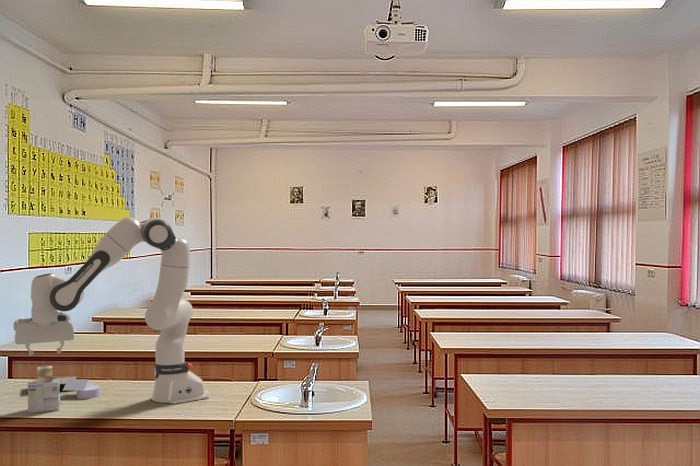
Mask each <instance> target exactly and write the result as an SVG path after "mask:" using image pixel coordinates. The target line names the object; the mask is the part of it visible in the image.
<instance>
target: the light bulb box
mask: <svg viewBox="0 0 700 466" xmlns="http://www.w3.org/2000/svg"><path fill="white" fill-rule="evenodd" d="M57 378H58V379H53V378H52V382H43V383H38V379H36V380H37V381H33V380H29V381H28V382H29V383H27V389H28V393H27V414H32V413H34V414H35V413H43V412H53V411H59V410H60V407H61V392H60V382H59V378H60V377H57Z"/></svg>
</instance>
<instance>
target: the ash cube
mask: <svg viewBox="0 0 700 466" xmlns="http://www.w3.org/2000/svg"><path fill="white" fill-rule="evenodd" d="M36 371H37V373H36V377H37V379H36V380H38V383H43V382H52V379H53V365H44V366H37V370H36Z"/></svg>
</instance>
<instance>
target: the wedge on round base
mask: <svg viewBox="0 0 700 466" xmlns="http://www.w3.org/2000/svg"><path fill="white" fill-rule="evenodd" d="M63 390H76V398H77V399H81V400H87V399H89V400H90V399H95V398H98V397H100V396H101V394H102V393H101V391H102V389H101V386H100V385H96V384H93V382H91V380H90V379H78V378H77V379H68V380H67V382H66V385H65V387H64V389H63Z"/></svg>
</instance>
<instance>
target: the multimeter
mask: <svg viewBox="0 0 700 466" xmlns="http://www.w3.org/2000/svg"><path fill="white" fill-rule="evenodd" d="M58 378H59V382H60V393H64V392H75V391H76V392H77V390H63V389H64V387H65V385H66V382H67V380H68V379H78V377H77V376H68V377H65V376H64V377H57V378H53V377H52V379H58ZM37 380H38V379H35V380H32V381H37ZM28 383H29V381H28ZM28 383H27V384H28ZM26 391H27V394H28V388H27V390H26Z"/></svg>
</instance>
